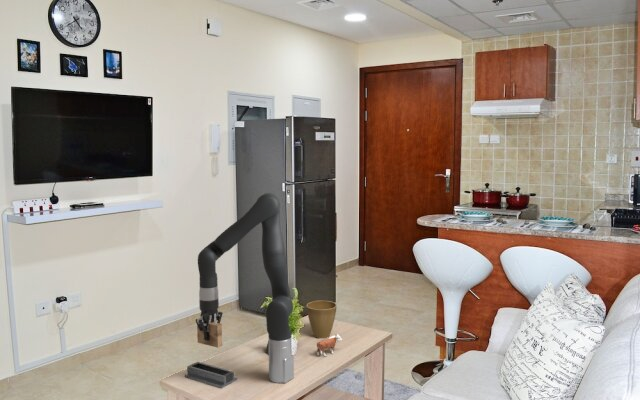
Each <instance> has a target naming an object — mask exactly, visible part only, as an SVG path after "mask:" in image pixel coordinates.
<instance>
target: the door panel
mask: <svg viewBox="0 0 640 400" xmlns="http://www.w3.org/2000/svg"><path fill="white" fill-rule="evenodd" d="M206 324H208V323H206ZM196 327H197V328H196V330H197V331H196V332H197V333H196V334H197V337H196V338H197V343H198V344H201V345H206V346H209V347H214V348H217V349H218V348H220V347H222V346H223V324H222V323H221V322H220V323H215V322H211V324H210V329H209V333H210V340H209V341H205V339H204V332H203V331H200V330H199V328H198V325H197V324H196ZM206 329H207V326H206Z"/></svg>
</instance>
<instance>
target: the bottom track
mask: <svg viewBox="0 0 640 400" xmlns="http://www.w3.org/2000/svg"><path fill="white" fill-rule="evenodd" d="M186 367H187V371H186V372H187V373H185V374H184V378H186V379H190V380H192V381H196V382H200V383H203V384H205V385H210V386H213V387H217V388H219V389H220V388H221V389H223V388H226V387H227V386H228V385H231V384H232V383H234V382H236V381H237V380H238V377H236V376H235V371H233V370H229V369H225V368H223V367H218V366H214V365H212V364H207V363H204V362H200V361H196V362H194V363H192V364H190V365H188V366H186Z"/></svg>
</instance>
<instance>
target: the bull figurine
mask: <svg viewBox="0 0 640 400" xmlns="http://www.w3.org/2000/svg"><path fill="white" fill-rule="evenodd" d="M342 341H343V338H342V337H341V336H340V335H339V334H338V333H337V334H335V335H331V336H329V337H328V338H324V339H322V340H319V341H317V343H316V348H317V350H316V353H317V356H318V357H319V356H322V355H323V356H324V357H327V356H328V355H327V354H326V353H325V351H327V350H329V351H330V353H331V354H333V355H334V354H335V353H334V350H335V347H336V345H337V344H338V343H339V342H342Z"/></svg>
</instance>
